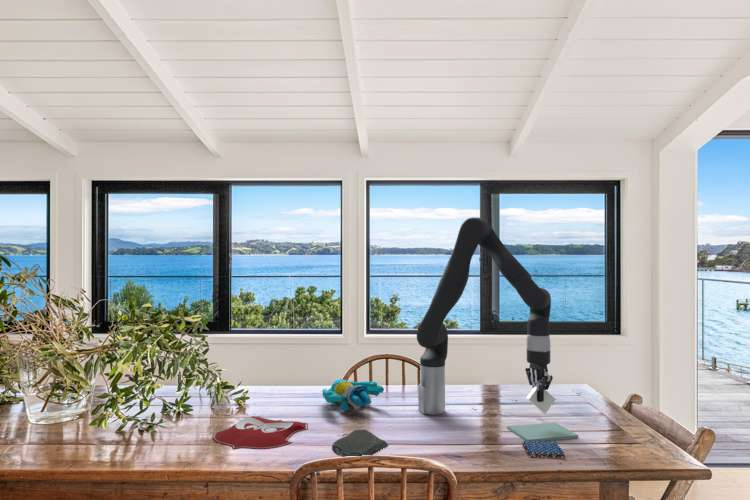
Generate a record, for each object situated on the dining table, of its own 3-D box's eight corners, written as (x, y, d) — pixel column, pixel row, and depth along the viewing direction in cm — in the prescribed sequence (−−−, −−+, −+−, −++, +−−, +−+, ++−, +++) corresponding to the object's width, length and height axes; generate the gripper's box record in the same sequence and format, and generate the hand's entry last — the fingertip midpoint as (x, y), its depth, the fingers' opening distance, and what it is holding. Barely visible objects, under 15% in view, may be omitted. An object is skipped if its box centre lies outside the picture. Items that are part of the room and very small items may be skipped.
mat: (527, 442, 158) (527, 439, 158) (507, 428, 171) (507, 426, 171) (578, 437, 162) (578, 435, 162) (554, 424, 175) (554, 422, 175)
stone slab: (388, 462, 143) (388, 455, 143) (328, 461, 144) (328, 454, 144) (388, 433, 167) (388, 427, 167) (337, 432, 168) (337, 426, 168)
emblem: (191, 436, 156) (247, 408, 184) (191, 446, 156) (247, 417, 184) (275, 448, 146) (319, 417, 174) (274, 458, 146) (319, 426, 174)
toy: (390, 417, 186) (357, 410, 207) (392, 383, 189) (359, 380, 210) (336, 414, 175) (307, 408, 196) (340, 378, 178) (310, 376, 199)
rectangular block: (545, 413, 168) (528, 399, 167) (542, 412, 170) (526, 397, 168) (555, 399, 169) (539, 384, 168) (553, 398, 171) (537, 383, 169)
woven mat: (520, 446, 157) (520, 439, 157) (556, 447, 156) (556, 440, 156) (527, 459, 146) (527, 452, 146) (565, 461, 145) (565, 453, 145)
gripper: (517, 345, 175) (518, 396, 174) (539, 352, 161) (539, 407, 161) (537, 344, 176) (537, 394, 176) (560, 351, 163) (560, 405, 163)
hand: (538, 400), depth 169 cm, fingers closed on rectangular block, 1 cm apart
